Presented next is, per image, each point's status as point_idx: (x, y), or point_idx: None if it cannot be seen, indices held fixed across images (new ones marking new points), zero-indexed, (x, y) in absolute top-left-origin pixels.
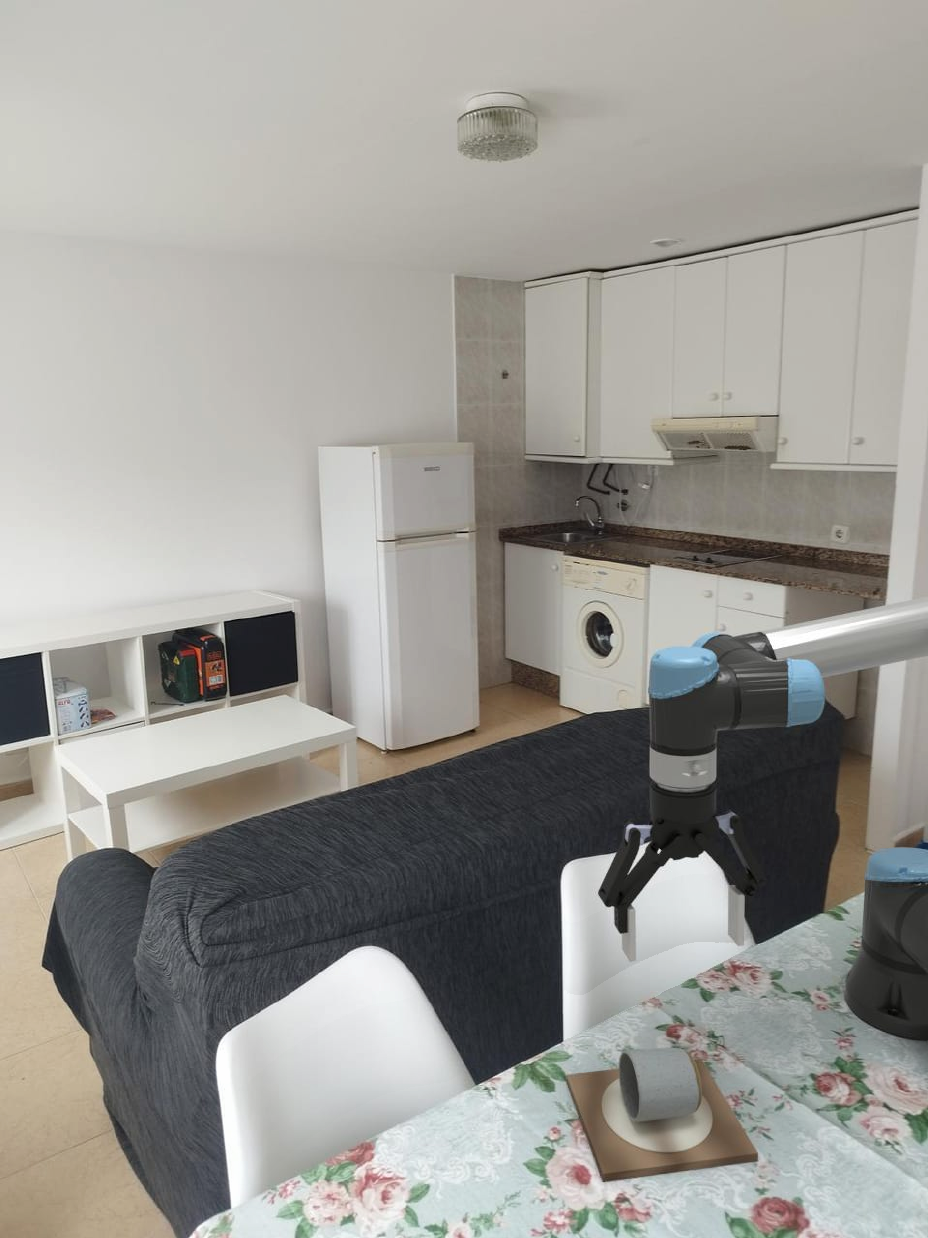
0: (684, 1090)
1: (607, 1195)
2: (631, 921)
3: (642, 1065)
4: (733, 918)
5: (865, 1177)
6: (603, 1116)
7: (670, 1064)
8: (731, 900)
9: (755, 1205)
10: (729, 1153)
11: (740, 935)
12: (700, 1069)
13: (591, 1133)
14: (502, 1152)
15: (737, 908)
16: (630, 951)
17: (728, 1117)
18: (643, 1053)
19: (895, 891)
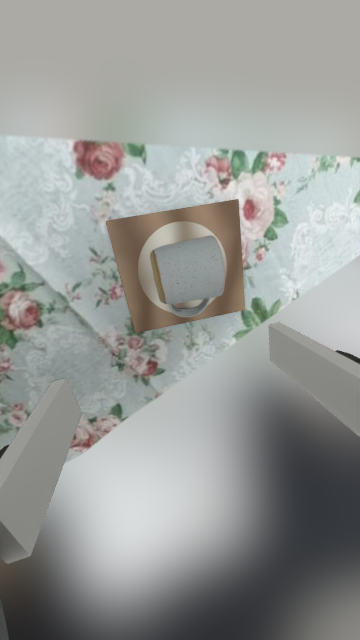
0: (169, 247)
1: (234, 186)
2: (350, 363)
3: (214, 258)
4: (54, 436)
5: (10, 200)
6: (226, 263)
7: (183, 264)
8: (39, 491)
9: (117, 170)
10: (130, 221)
11: (50, 394)
12: (138, 320)
13: (238, 244)
14: (300, 233)
15: (24, 458)
16: (291, 329)
17: (124, 264)
18: (209, 276)
19: None
